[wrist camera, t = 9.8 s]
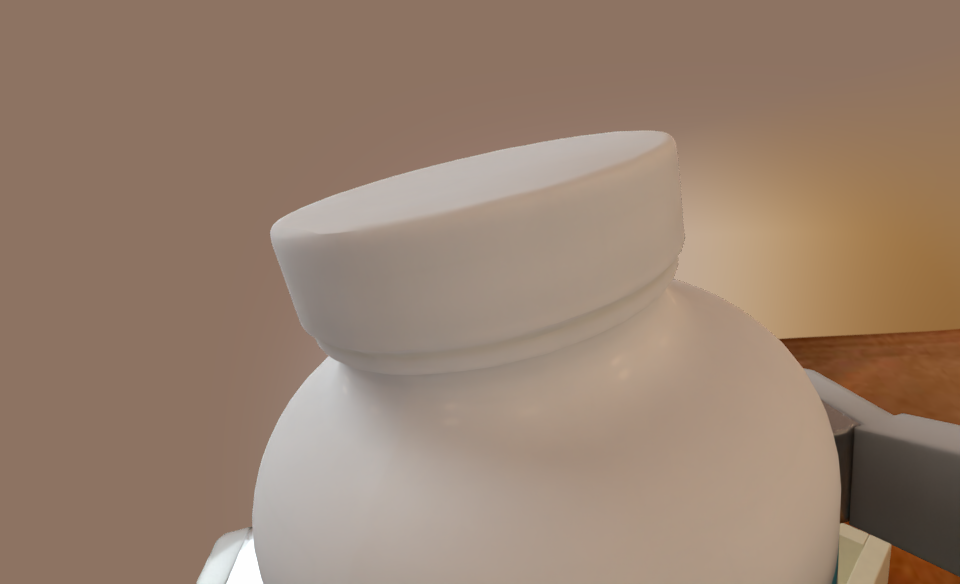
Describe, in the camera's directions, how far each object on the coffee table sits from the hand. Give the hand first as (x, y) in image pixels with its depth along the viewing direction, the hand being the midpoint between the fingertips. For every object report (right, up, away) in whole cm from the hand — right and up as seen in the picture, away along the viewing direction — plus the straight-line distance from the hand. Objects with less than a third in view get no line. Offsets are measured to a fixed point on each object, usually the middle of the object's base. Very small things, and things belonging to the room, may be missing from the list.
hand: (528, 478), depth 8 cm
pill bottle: (+2, -8, +2) cm, 8 cm away
